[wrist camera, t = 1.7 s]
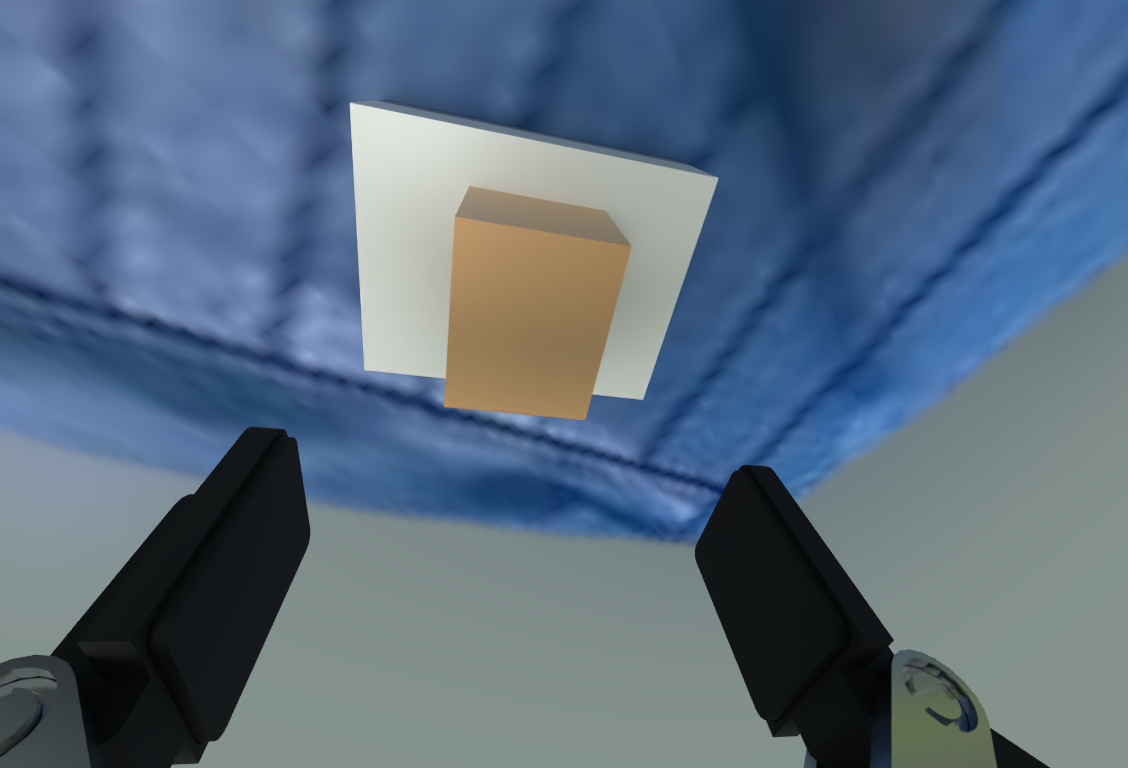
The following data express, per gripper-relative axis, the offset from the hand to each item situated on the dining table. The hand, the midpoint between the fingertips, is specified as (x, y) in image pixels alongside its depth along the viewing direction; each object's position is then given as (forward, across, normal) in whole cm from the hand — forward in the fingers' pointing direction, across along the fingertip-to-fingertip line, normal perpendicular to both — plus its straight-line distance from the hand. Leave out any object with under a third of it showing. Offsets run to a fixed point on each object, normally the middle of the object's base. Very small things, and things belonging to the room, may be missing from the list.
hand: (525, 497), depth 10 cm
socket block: (+17, 0, -1) cm, 17 cm away
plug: (+15, 0, -1) cm, 15 cm away
